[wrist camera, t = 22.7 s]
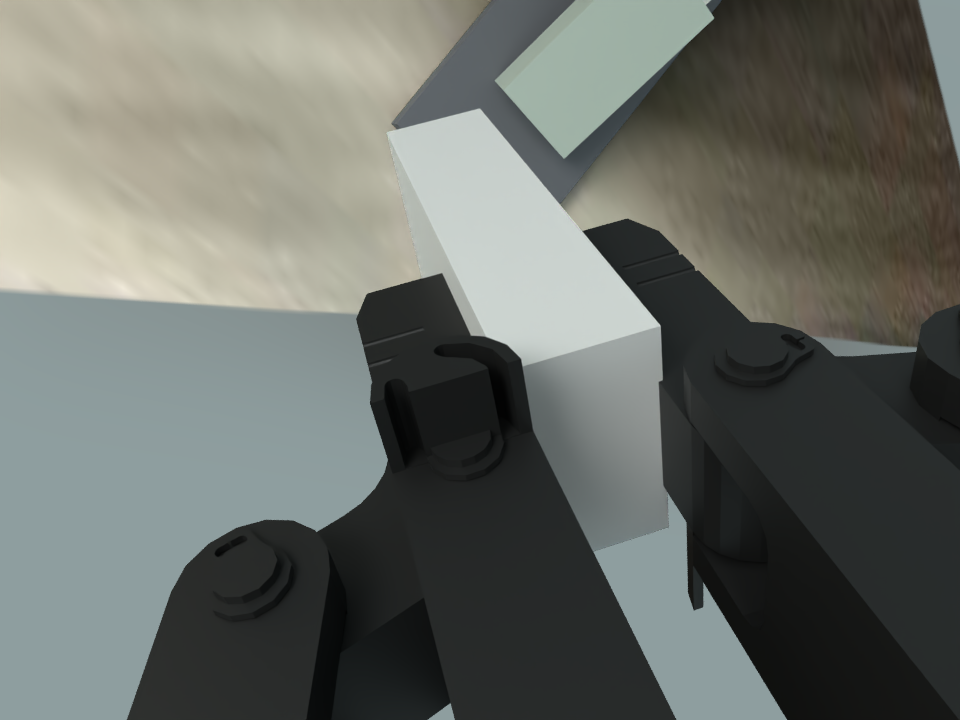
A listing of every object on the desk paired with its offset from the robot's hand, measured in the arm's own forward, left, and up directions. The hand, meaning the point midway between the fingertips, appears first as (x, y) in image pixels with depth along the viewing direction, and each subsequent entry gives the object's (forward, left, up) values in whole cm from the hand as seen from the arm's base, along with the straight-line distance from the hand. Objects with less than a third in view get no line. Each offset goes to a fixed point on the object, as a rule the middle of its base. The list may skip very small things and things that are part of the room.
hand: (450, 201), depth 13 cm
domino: (+11, +11, -27) cm, 31 cm away
